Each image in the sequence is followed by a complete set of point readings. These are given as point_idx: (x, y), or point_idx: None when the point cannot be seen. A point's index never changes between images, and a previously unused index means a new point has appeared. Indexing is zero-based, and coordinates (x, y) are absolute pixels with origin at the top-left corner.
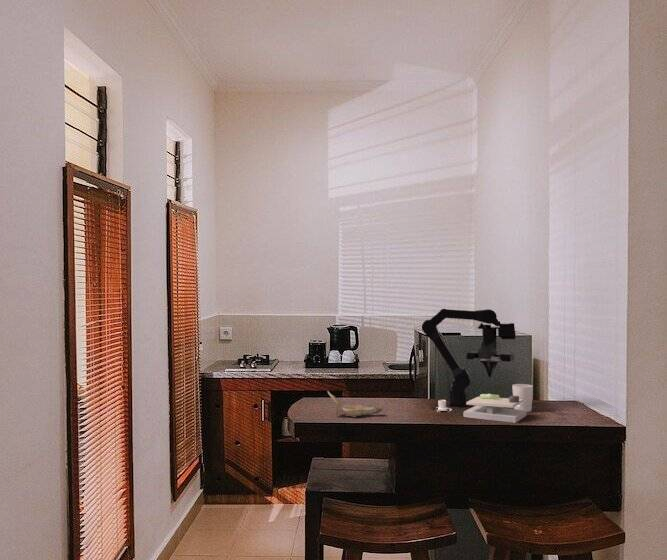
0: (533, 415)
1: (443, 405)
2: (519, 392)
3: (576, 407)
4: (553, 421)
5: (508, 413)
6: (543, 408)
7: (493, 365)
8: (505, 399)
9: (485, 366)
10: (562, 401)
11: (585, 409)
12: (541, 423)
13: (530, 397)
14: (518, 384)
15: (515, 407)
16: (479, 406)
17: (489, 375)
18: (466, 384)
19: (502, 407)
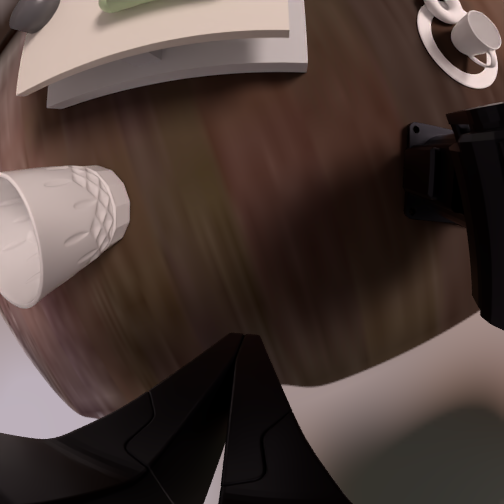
0: (46, 133)
1: (460, 20)
2: (21, 169)
3: (31, 337)
4: (4, 95)
5: None
6: (66, 289)
7: (60, 437)
8: (79, 30)
9: (297, 464)
10: (95, 408)
11: (11, 316)
12: None
13: (19, 206)
14: (37, 293)
15: (106, 175)
16: (275, 41)
17: (241, 344)
18: (465, 111)
19: (132, 64)
